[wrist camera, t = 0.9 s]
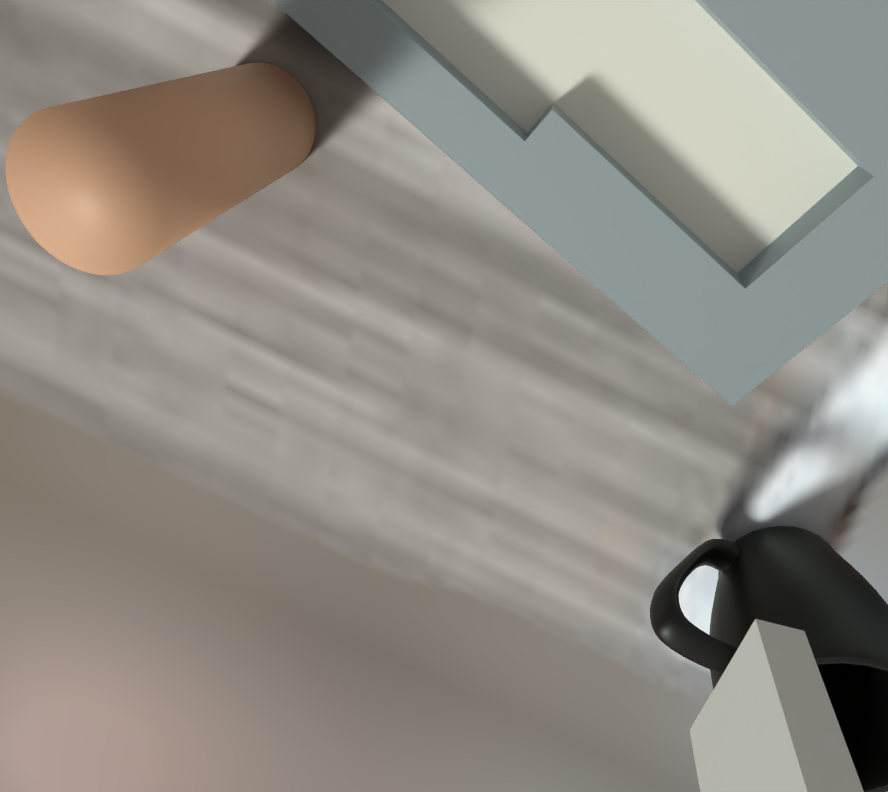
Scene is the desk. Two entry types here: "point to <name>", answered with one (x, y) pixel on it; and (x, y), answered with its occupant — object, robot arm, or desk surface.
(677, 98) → the keyhole board
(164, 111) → the peg
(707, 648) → the mug
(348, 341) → the desk surface
